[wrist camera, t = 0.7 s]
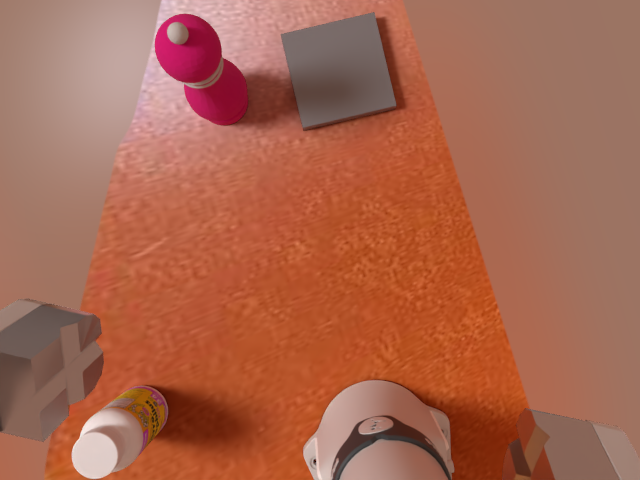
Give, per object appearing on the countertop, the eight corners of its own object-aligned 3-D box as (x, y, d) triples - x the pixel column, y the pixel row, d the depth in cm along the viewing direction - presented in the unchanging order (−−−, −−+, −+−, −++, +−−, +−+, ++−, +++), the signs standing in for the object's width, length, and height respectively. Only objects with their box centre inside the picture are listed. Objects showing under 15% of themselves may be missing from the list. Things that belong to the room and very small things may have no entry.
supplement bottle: (172, 433, 59) (130, 487, 46) (120, 438, 59) (64, 493, 46) (167, 381, 59) (124, 420, 46) (115, 385, 59) (58, 426, 46)
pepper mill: (264, 101, 59) (235, 28, 39) (224, 141, 59) (174, 89, 39) (223, 61, 59) (174, -32, 39) (184, 101, 59) (114, 29, 39)
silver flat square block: (394, 109, 59) (396, 105, 57) (303, 130, 59) (302, 127, 57) (372, 18, 59) (374, 12, 57) (281, 39, 59) (280, 34, 57)
